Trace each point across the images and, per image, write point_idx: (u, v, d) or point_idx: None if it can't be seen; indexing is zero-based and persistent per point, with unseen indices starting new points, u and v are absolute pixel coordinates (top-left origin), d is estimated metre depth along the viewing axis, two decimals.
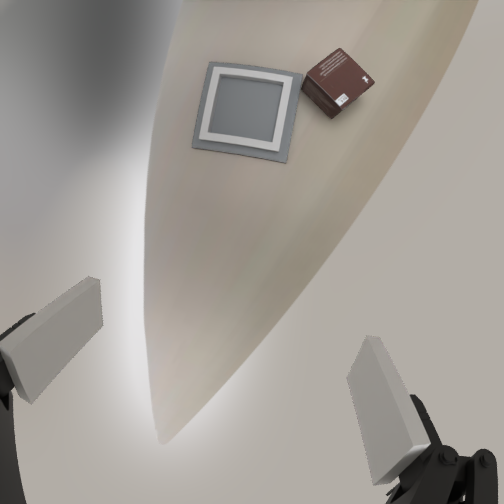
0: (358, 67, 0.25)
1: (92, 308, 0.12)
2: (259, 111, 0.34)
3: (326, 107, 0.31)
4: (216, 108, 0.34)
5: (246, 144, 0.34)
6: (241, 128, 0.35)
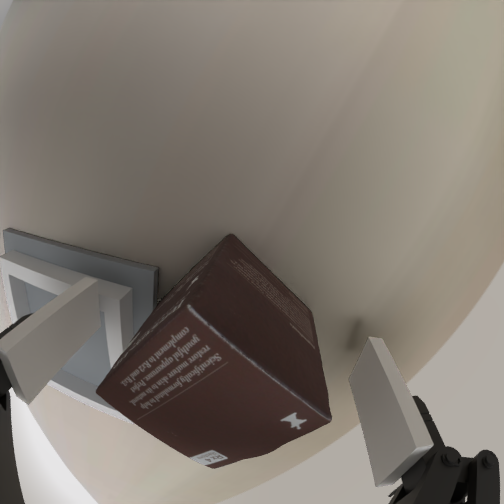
0: (271, 389, 0.07)
1: (90, 308, 0.12)
2: (91, 347, 0.16)
3: None
4: None
5: (84, 402, 0.16)
6: (76, 367, 0.17)
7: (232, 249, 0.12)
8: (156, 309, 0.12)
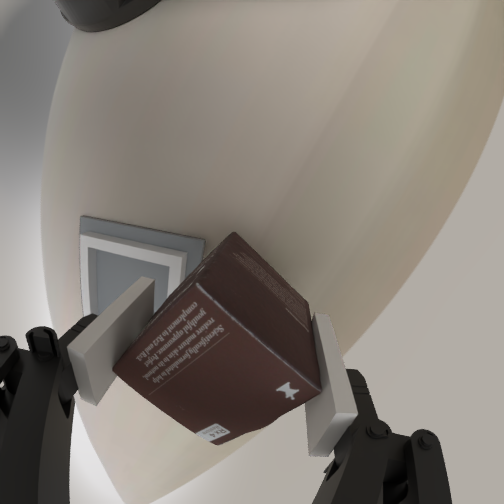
0: (266, 358, 0.09)
1: (147, 307, 0.13)
2: None
3: None
4: (98, 288, 0.26)
5: None
6: None
7: (234, 244, 0.13)
8: (167, 299, 0.14)
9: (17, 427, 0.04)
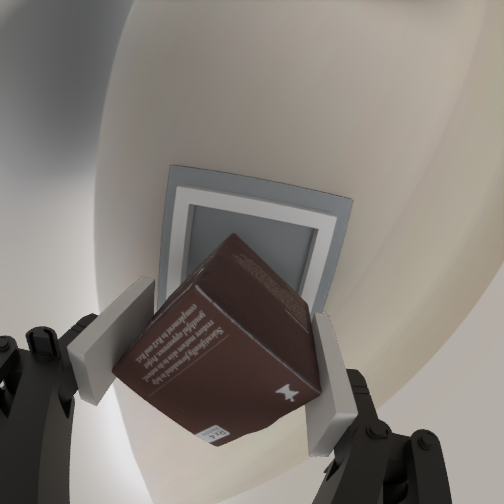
0: (266, 360, 0.09)
1: (147, 307, 0.13)
2: None
3: None
4: (189, 265, 0.21)
5: None
6: None
7: (234, 245, 0.13)
8: (166, 301, 0.14)
9: (17, 427, 0.04)
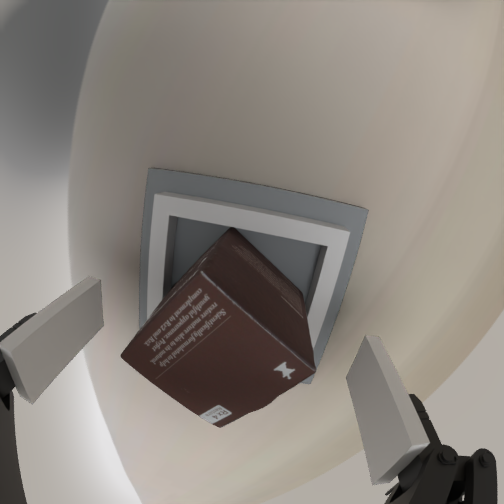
0: (264, 339, 0.10)
1: (93, 308, 0.12)
2: None
3: None
4: None
5: None
6: None
7: (233, 238, 0.14)
8: (170, 291, 0.15)
9: None
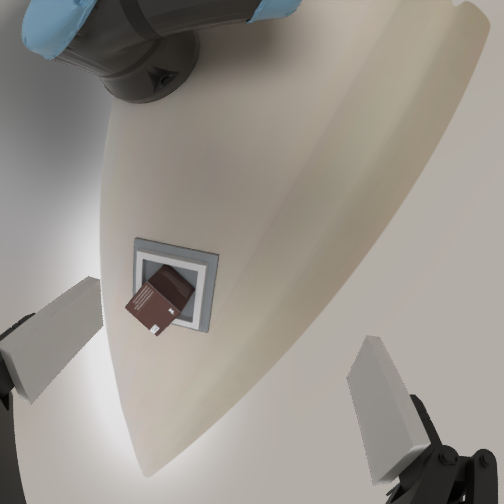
0: (164, 300, 0.34)
1: (92, 308, 0.12)
2: None
3: None
4: None
5: (172, 322, 0.41)
6: None
7: (164, 268, 0.38)
8: None
9: None
